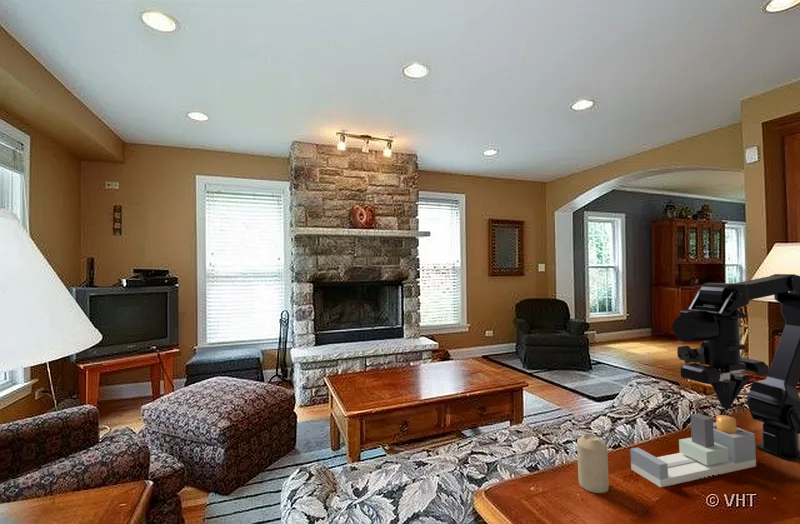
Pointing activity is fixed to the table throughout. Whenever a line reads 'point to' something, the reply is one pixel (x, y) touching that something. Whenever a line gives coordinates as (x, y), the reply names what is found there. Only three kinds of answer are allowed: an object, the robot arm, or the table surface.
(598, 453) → the candle
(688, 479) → the rail
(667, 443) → the table surface
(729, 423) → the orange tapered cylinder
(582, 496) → the table surface
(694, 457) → the carriage
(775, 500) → the table surface
